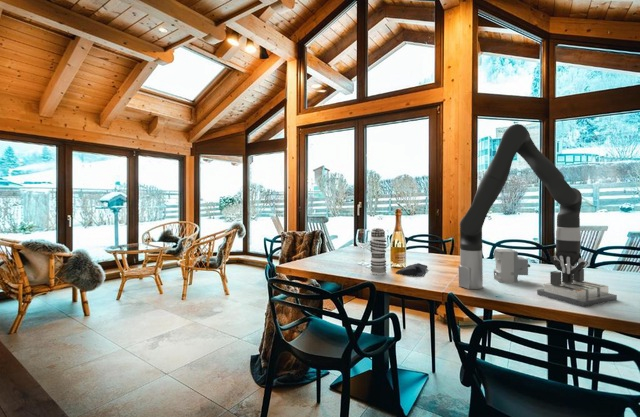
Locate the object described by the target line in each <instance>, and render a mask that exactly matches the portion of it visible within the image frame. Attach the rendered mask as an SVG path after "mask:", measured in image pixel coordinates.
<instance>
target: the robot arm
mask: <svg viewBox="0 0 640 417" xmlns="http://www.w3.org/2000/svg"><path fill="white" fill-rule="evenodd" d="M516 154H518V155H519V156H520V158H521V157H522V159H523V160H524V161H525V162H526V164H528V166H529V167H530V169H531V171H533V173H534V175H535V176H536V177H537V178H538V179H539V180H540V181H541V183H542V184H543V186H545V187H546V188H547V191H548V192H549V193H550V195H551V197H552V198H553V200H554V201H555V202H556V203H557V204H559V212H558V213H557V216H556V230H555V249H556V251H555V254H554V255H553V256H550V257H549V260H550V262H551V263H552V264H553V266H554V267H555V268H556V269H557V270H556V271H558V272H561V273H562V272H563V281H564V282H565V283H572V282H573V274H574V273H579V272H580V271H581V270H582V269H584V268H585V267H587V266H588V265H589V262H588V261H586V260H584V259H583V258H582V254H581V250H582V248H581V245H582V241H581V240H582V238H581V236H582V235H581V221H580V220H581V219H580V215H581V209H582V203H583V197H582V196H583V195H582V193H581V191H580V190H579V189H577V188H575V187H572V186H571V185H570V184H569V183H568V182H567V181H566V179H565V176H564V174H563V173H562V172H561V170H559V169H558V167H557V166H556V165H555V164H554V163H553V162H552V161H551V160H550V159H549V158H547V157H546V156H545V155H544V154H543V153H542V151H540V150H539V148H538V147H537V146H536V144H535V142H534V141H533V139H532V137H531V135H530V132H529V131H528V129H527V128H526V126H525V125H523V124H520V123H515V124H512V125H510V126H508V127H507V128H506V129H505V131H504V132H503V134H502V136H501V139H500V142H499V145H498V146H497V149H496V152H495V154H494V156H493V157H492V160H491V161H490V163H489V165H488V166H487V169H486V170H485V172H484V174H483V176H482V178H481V180H480V183H479V184H478V186H477V189H476V192H475V195H474V197H473V201H472V203H471V205H470V207H469V208H468V210H467V212H466V213H465V215H464V216H463V217H462V218H461V219H460V222H459V235H460V236H459V248H460V250H459V255H460V256H459V258H460V259H459V260H460V261H459V262H460V263H459V265H458V286H459V287H461V288H464V289H467V290H480V289H483V286H484V281H483V278H484V277H483V274H484V272H483V271H484V270H483V226H484V223H485V220H486V218H487V215H488V213H489V211H490V209H491V207H492V206H493V204H494V203H495V202H496V200H498V199H497V198H498V197H499V195H500V194H501V193H502V190H503V189H504V187H505V184H506V183H507V181H508V179H509V175H510V172H511V168H512V167H511V166H512V165H513V164H512V163H513V161H514V158H515V157H516Z"/></svg>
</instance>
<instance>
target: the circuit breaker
mask: <svg viewBox="0 0 640 417" xmlns="http://www.w3.org/2000/svg"><path fill="white" fill-rule="evenodd" d="M518 255H519V254H518V251H517V250H514V249H512V248H496V249H495V248H494V249H493V258H494V260H495V268H494V269H493V279H494V280H495V281H497V282H498V283H512V284H513V283H514V284H516V283H517V284H518V283H519V278H518V276H529V268H530V267H531V265H530V264H529V259H528V258H525V257H523V256H518Z"/></svg>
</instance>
